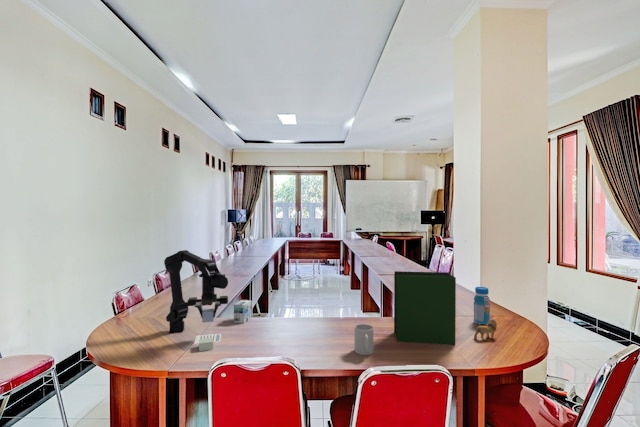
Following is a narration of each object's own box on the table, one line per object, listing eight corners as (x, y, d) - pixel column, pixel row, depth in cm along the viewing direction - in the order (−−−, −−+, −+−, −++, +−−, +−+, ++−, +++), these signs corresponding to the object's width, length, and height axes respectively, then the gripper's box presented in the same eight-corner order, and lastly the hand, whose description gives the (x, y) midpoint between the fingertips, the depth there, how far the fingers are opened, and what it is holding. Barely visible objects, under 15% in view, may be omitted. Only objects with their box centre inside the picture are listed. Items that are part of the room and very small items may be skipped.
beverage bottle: (473, 324, 189) (474, 288, 189) (473, 319, 197) (473, 285, 197) (490, 326, 186) (490, 290, 186) (489, 321, 194) (489, 286, 194)
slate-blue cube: (202, 322, 162) (202, 312, 162) (203, 319, 167) (203, 309, 167) (213, 321, 164) (213, 311, 164) (213, 318, 168) (213, 308, 168)
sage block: (199, 352, 150) (199, 343, 150) (198, 347, 156) (198, 338, 156) (213, 350, 152) (213, 341, 152) (212, 345, 158) (212, 337, 158)
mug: (353, 347, 156) (353, 324, 156) (371, 347, 156) (371, 323, 156) (357, 359, 144) (357, 333, 144) (376, 358, 144) (377, 333, 144)
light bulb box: (244, 324, 188) (244, 304, 188) (233, 323, 189) (233, 304, 189) (252, 318, 198) (252, 300, 198) (241, 317, 200) (241, 299, 200)
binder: (396, 342, 162) (396, 276, 162) (393, 331, 177) (394, 270, 177) (455, 345, 159) (455, 277, 159) (447, 334, 174) (447, 272, 173)
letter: (193, 344, 159) (193, 343, 159) (196, 336, 169) (196, 335, 169) (220, 342, 162) (220, 341, 162) (221, 334, 172) (221, 333, 172)
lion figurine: (489, 334, 173) (489, 317, 173) (499, 337, 169) (499, 320, 169) (470, 339, 166) (471, 321, 166) (480, 343, 162) (480, 324, 162)
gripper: (185, 291, 155) (185, 325, 155) (227, 289, 160) (227, 322, 160) (189, 286, 166) (188, 317, 166) (228, 284, 171) (228, 315, 171)
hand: (208, 318), depth 165 cm, fingers closed on slate-blue cube, 5 cm apart
